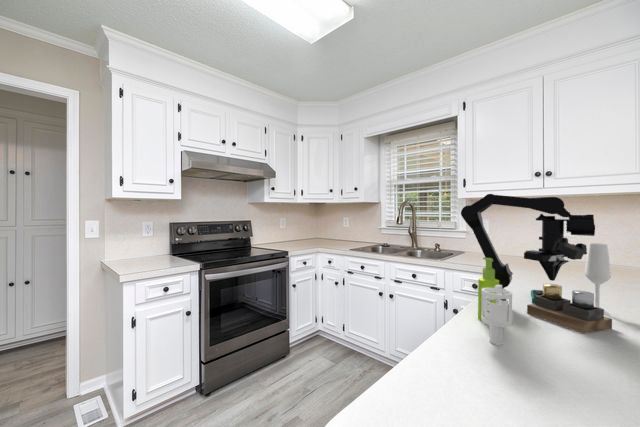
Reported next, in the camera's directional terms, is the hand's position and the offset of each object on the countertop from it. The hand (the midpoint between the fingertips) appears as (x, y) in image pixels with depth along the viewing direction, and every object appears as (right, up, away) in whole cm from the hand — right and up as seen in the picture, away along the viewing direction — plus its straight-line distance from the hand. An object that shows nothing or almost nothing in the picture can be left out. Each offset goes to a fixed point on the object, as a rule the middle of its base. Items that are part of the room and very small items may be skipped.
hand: (552, 280), depth 98 cm
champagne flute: (+19, -12, +4) cm, 23 cm away
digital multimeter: (+10, -13, +17) cm, 23 cm away
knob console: (+1, -12, -4) cm, 13 cm away
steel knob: (+3, -6, -9) cm, 11 cm away
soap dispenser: (-23, -12, -3) cm, 27 cm away
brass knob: (0, -6, 0) cm, 6 cm away
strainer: (-31, -12, -20) cm, 39 cm away
